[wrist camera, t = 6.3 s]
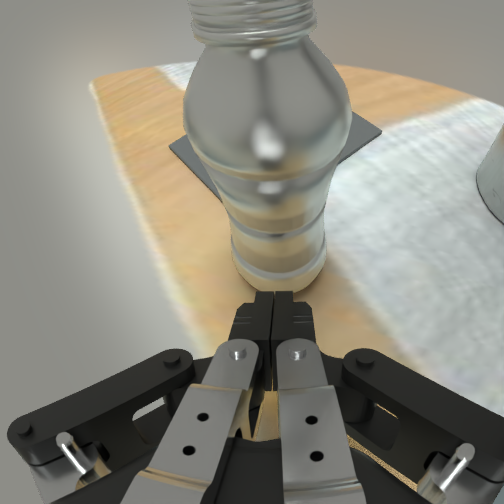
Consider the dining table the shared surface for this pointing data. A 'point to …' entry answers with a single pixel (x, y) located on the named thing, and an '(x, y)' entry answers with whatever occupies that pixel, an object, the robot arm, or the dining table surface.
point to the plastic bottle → (267, 132)
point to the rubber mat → (356, 139)
